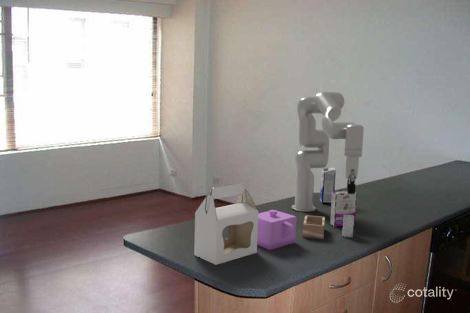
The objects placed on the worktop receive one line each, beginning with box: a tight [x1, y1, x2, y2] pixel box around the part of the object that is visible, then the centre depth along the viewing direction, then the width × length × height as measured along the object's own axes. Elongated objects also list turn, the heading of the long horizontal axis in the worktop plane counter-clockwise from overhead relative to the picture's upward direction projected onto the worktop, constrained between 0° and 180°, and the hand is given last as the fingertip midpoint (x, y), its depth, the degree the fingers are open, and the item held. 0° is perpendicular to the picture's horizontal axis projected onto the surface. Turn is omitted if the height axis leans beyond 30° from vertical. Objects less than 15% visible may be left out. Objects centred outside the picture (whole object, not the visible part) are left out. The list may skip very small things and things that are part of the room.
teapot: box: [257, 209, 297, 251], centre depth 220 cm, size 15×25×14 cm, turn 42°
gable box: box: [193, 182, 259, 266], centre depth 202 cm, size 22×13×28 cm, turn 133°
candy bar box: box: [329, 190, 358, 228], centre depth 247 cm, size 11×5×16 cm, turn 105°
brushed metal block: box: [341, 215, 354, 238], centre depth 231 cm, size 4×4×9 cm
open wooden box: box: [302, 214, 326, 240], centre depth 233 cm, size 15×9×6 cm, turn 169°
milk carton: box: [319, 166, 337, 205], centre depth 288 cm, size 7×7×20 cm
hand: (350, 190), depth 228 cm, fingers open, 9 cm apart
